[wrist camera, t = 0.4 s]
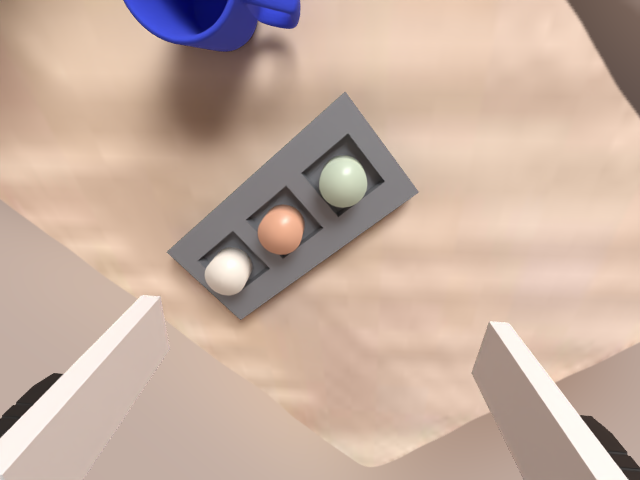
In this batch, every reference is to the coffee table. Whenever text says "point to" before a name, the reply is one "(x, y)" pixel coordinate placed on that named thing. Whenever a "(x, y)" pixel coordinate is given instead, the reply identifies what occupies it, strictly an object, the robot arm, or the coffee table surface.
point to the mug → (212, 20)
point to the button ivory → (228, 271)
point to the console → (297, 206)
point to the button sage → (343, 181)
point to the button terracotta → (281, 229)
